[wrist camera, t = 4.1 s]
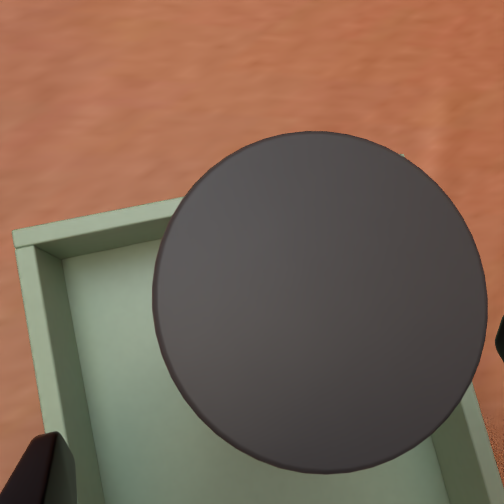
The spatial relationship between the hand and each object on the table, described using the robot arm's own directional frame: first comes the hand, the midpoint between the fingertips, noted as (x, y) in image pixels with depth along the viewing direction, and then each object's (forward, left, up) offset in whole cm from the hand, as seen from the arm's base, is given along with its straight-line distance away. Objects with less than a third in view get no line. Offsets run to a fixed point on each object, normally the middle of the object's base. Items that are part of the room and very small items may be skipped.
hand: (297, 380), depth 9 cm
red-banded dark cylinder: (+1, -1, -8) cm, 9 cm away
